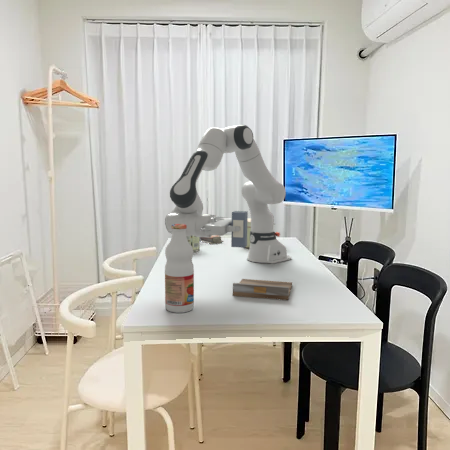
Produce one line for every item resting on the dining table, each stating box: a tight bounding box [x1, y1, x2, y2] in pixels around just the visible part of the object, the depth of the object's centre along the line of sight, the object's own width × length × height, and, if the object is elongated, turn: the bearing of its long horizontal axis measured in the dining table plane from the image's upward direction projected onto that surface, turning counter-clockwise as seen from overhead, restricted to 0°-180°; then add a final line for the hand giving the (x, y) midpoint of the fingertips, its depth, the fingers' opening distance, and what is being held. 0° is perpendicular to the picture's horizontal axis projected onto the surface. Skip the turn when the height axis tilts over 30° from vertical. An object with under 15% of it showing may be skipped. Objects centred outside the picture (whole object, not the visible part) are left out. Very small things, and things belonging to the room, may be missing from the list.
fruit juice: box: [164, 224, 195, 314], centre depth 142 cm, size 9×9×28 cm
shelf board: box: [232, 278, 293, 301], centre depth 164 cm, size 18×20×4 cm
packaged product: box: [200, 235, 225, 245], centre depth 263 cm, size 18×5×10 cm
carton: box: [230, 210, 249, 249], centre depth 163 cm, size 5×5×13 cm
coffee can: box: [186, 236, 201, 253], centre depth 236 cm, size 10×10×14 cm
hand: (241, 227), depth 163 cm, fingers closed on carton, 5 cm apart
